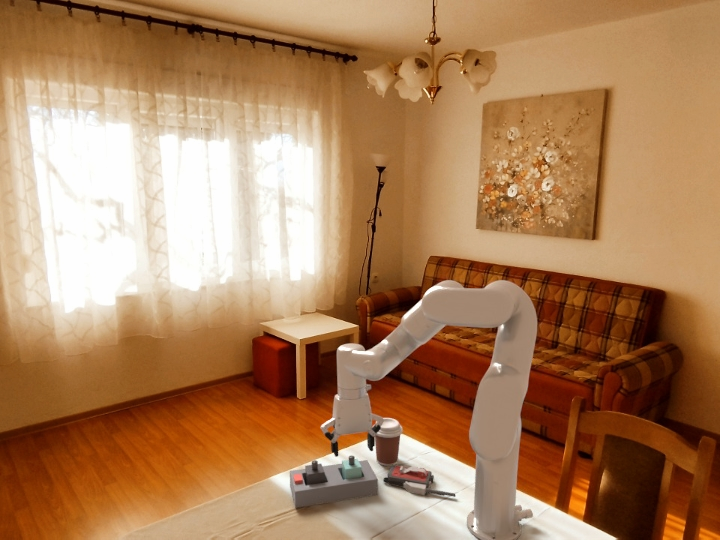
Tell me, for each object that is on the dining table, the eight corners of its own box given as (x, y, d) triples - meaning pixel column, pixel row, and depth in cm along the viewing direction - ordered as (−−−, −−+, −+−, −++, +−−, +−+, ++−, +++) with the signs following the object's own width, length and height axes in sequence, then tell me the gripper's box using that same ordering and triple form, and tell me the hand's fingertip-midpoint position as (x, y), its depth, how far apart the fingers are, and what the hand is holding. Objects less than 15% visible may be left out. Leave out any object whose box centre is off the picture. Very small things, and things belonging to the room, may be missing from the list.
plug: (357, 482, 142) (357, 452, 141) (361, 491, 138) (361, 460, 136) (341, 484, 141) (341, 454, 139) (345, 493, 137) (345, 462, 135)
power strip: (367, 474, 146) (367, 445, 144) (377, 494, 136) (377, 463, 135) (290, 486, 140) (289, 455, 138) (295, 507, 130) (294, 475, 129)
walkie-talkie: (380, 489, 139) (454, 502, 133) (381, 474, 139) (455, 487, 133) (388, 472, 148) (458, 484, 142) (389, 458, 147) (459, 469, 141)
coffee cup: (369, 453, 157) (369, 417, 155) (398, 451, 159) (398, 415, 157) (375, 469, 148) (375, 431, 146) (405, 466, 150) (406, 428, 148)
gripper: (378, 382, 141) (379, 440, 143) (316, 389, 136) (318, 449, 139) (387, 392, 134) (388, 453, 136) (322, 400, 129) (324, 463, 132)
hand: (353, 451), depth 137 cm, fingers open, 9 cm apart
